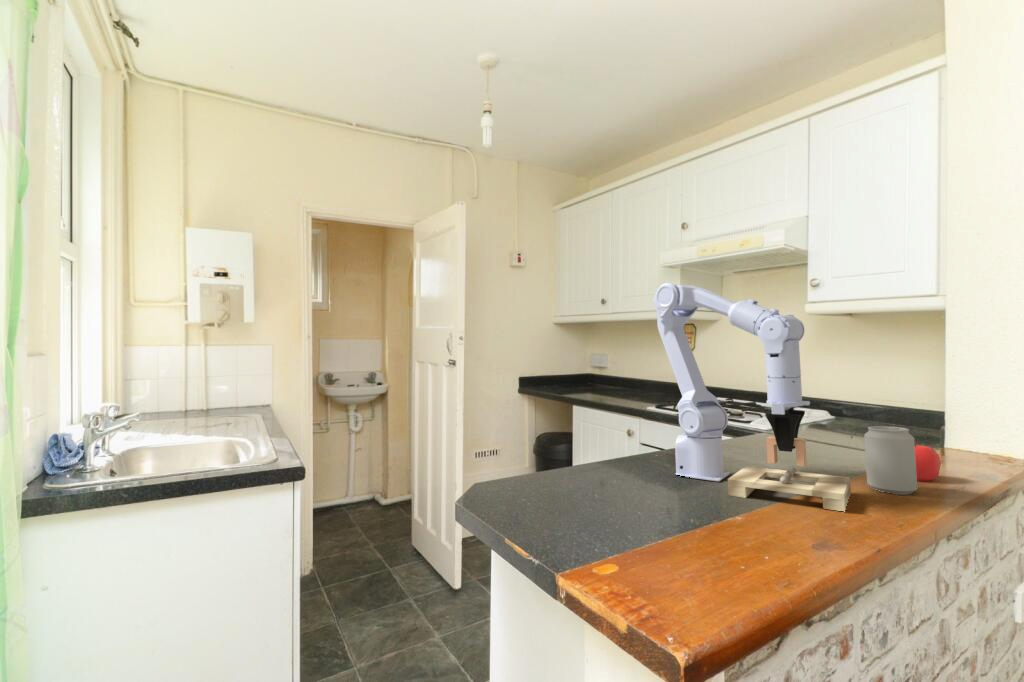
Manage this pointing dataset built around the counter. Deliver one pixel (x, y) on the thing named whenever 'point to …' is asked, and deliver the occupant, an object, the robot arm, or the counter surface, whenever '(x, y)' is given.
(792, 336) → the robot arm
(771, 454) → the pink arch
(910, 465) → the can
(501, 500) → the counter surface
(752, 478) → the wooden slotted stand
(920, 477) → the apple
